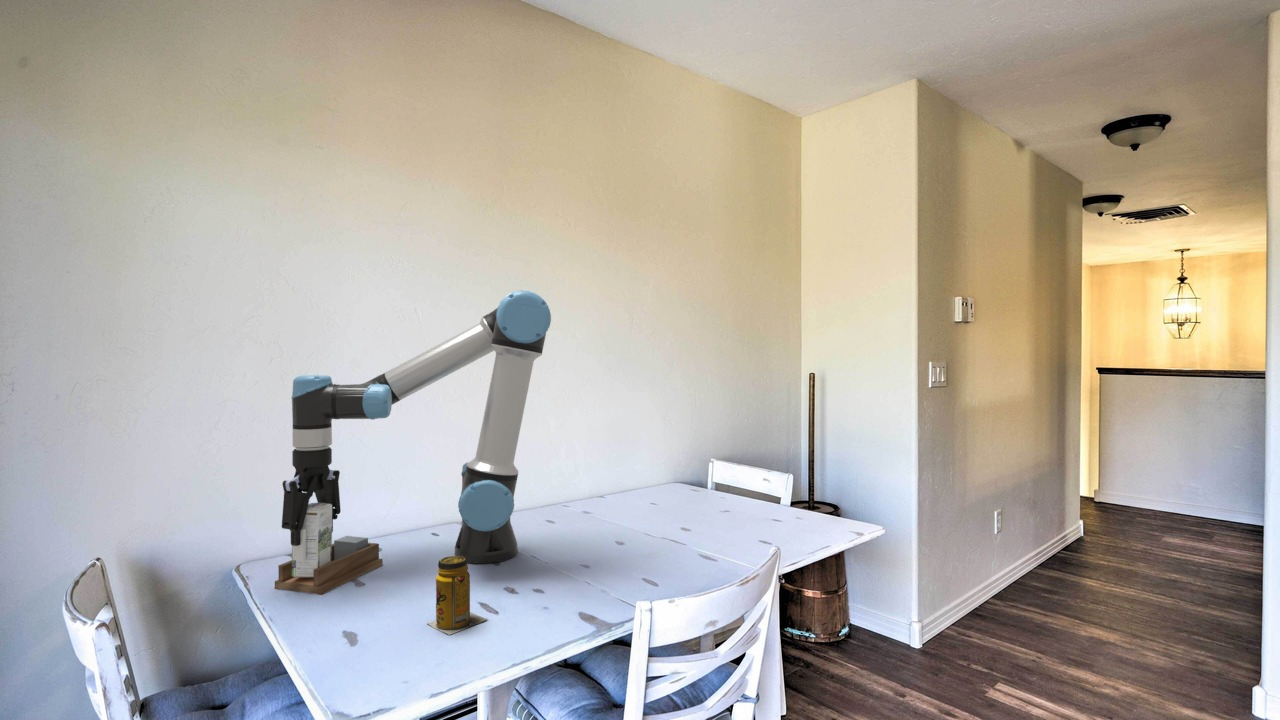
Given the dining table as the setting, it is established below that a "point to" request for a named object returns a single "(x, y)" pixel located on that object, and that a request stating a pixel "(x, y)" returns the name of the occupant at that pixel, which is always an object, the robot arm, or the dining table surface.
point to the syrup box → (315, 540)
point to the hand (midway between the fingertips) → (312, 554)
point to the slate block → (348, 546)
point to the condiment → (453, 596)
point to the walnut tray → (331, 572)
